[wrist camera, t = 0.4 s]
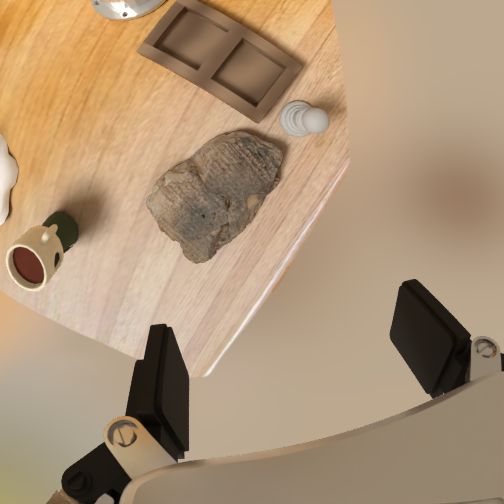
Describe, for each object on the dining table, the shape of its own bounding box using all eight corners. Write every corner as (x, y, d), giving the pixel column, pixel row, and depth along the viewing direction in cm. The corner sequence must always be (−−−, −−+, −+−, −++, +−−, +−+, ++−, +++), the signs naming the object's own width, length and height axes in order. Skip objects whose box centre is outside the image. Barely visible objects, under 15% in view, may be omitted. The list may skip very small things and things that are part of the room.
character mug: (64, 264, 44) (32, 309, 32) (35, 238, 41) (-4, 277, 29) (95, 219, 41) (61, 258, 30) (63, 190, 38) (20, 220, 27)
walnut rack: (141, 55, 32) (136, 51, 29) (184, 0, 29) (182, -7, 26) (255, 122, 39) (258, 123, 36) (296, 68, 36) (302, 66, 33)
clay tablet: (245, 107, 38) (136, 196, 41) (251, 106, 34) (129, 207, 37) (301, 182, 44) (198, 260, 47) (312, 191, 40) (198, 277, 43)
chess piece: (311, 98, 38) (336, 97, 30) (317, 133, 40) (343, 140, 32) (275, 103, 38) (292, 102, 30) (282, 139, 40) (301, 147, 32)
